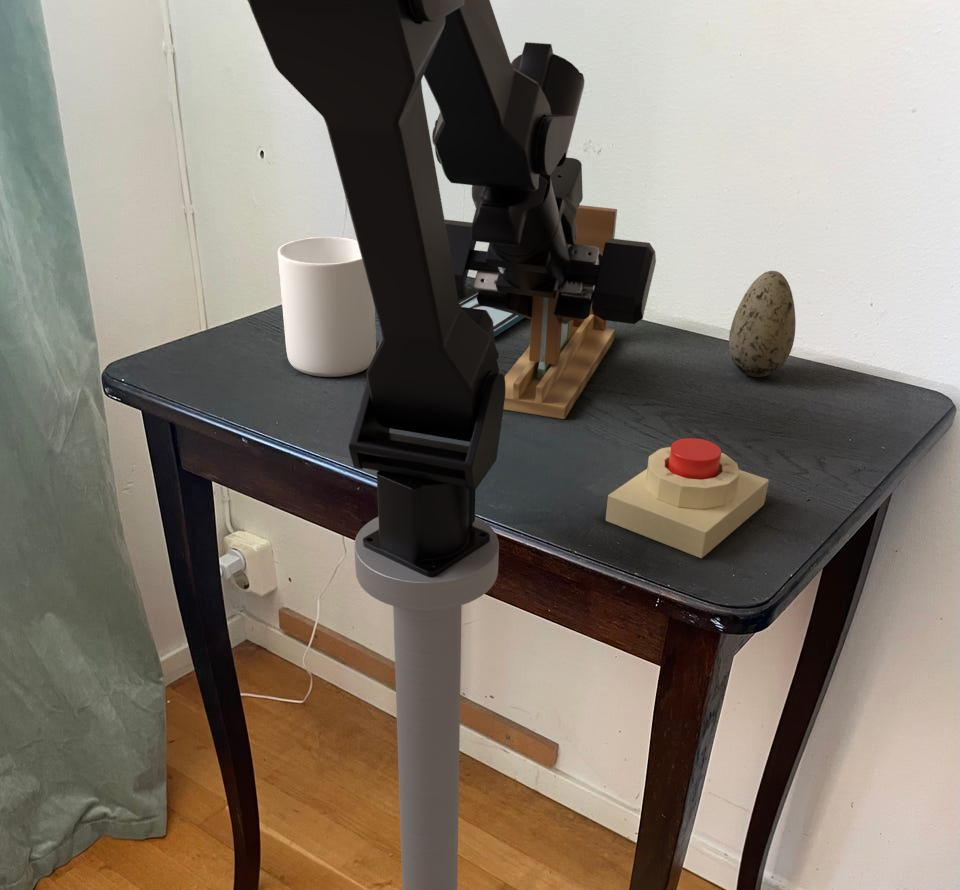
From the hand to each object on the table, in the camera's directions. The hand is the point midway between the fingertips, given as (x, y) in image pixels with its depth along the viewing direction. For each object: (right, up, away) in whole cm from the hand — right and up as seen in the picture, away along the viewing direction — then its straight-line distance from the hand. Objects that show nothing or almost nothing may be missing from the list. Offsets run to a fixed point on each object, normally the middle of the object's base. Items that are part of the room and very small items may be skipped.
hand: (550, 316), depth 92 cm
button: (+9, -16, -17) cm, 25 cm away
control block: (+9, -19, -15) cm, 26 cm away
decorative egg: (+20, -4, +7) cm, 22 cm away
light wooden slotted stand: (+1, -3, +7) cm, 8 cm away
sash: (+1, -3, +5) cm, 6 cm away
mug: (-20, -2, +9) cm, 22 cm away
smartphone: (-5, +5, +19) cm, 20 cm away
